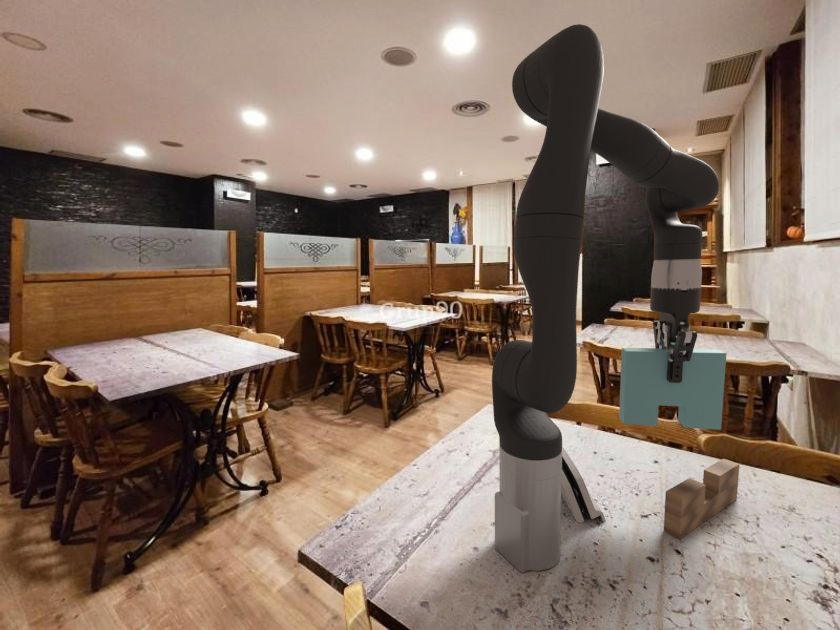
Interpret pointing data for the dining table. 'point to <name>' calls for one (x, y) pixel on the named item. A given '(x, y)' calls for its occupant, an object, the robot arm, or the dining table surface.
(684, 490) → the notched wooden block
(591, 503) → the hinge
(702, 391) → the teal plate
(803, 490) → the dining table surface
